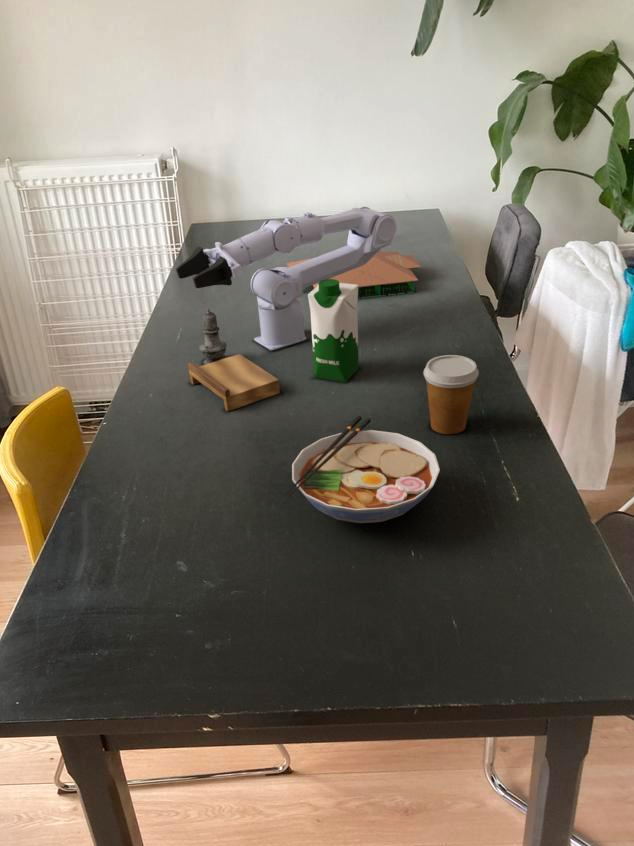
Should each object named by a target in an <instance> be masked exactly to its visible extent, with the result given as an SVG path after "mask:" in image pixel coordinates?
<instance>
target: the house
mask: <svg viewBox="0 0 634 846" xmlns="http://www.w3.org/2000/svg"><path fill="white" fill-rule="evenodd" d="M313 258H314V257H313ZM313 258H307V259H301V260H297V261H290V262H287V263H286V267H292V266H294V265H297V264H299V263H302V262H305V261H307V260H310V259H313ZM418 268H422V265H421V264H420V262H419V261H418V260H417V259H416V257H415V256H414V255H413V254H400V253H399V251H387V250H385V251H383V250H382V251H381V250H379V251H378V252H377V253H376V254H375V255H374V256H373V257H372V258H371V259H370V260H369V261H368V262H367V263H366V264H364V265H363V266H360V267H358V268H355V269H352V270H350V271H347V272H345V273H342V274H340V275H337V276H335V277H332V278H330V279H335V280H338V281H339V283H347V284H357V285H358V288H364V287H365V288H366V287H368V288H369V289H368V290H367V289H365V292H368V291H369V292H368V293H369V295H367V293H365V296H362V299H365V298H375V297H376V295H372V296H371V295H370V294H371V293H370V291H371V288H370V287H373V288H374V291H376V293H377V295H378V296H380V297H383V296H385V293H384V291H385V290H390V287H386V288H385V285H394V284H399V285H398V295H401V294H404V291H403V290H404V287H405V288H408V286H409V289H410V290H411V291H408V294H412V293H415V282H419V279H418V277H417V276H416V275H415V274H414V272H413V270H418ZM401 283H402V286H400V285H401ZM403 283H406V285H404V284H403ZM318 285H319V283H317V284H314V285H312V288H313V290H314V289H315V288H316V287H317V286H318ZM382 285H383V287H382V291H383V294H382V295H381V286H382ZM400 288H402V289H401V290H402V292H400ZM394 289H397V286H395V287H394ZM311 291H312V290H309V291H308V290H307V293H310V292H311ZM358 293H361V290H358ZM391 295H395V293H389V296H391Z"/></svg>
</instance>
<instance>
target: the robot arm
mask: <svg viewBox="0 0 634 846" xmlns="http://www.w3.org/2000/svg"><path fill="white" fill-rule="evenodd" d="M347 231H348V235H347V240H346V243H347V245H345V246H341V247H339V248H336V249H334V250H331V251H329V252H326V253H324V254H321V255H318V256H316V257H313V259H311V258H309V259H310V260H307V261H305V262H302V263H299V264H297V265H294V266H292V267H288V266H275V267H274V268H267V267H261V268H259V269H257V270H256V271H255V272H254V273H253V275H252V277H251V279H250V289H251V292H252V293H253V294H254V295H255V296H256V300H257V309H258V318H259V319H258V320H259V328H260V329H259V330H260V336H256V337H254V338H253V340H254V341H255V342H256V343H258V344H260V345H261V346H262V347H264V348H266V349H268V350H269V351H272V352H273V351H277V350H279V349H283V348H286V347H289V346H292V345H295V344H298V343H300V342H304V341H307V337H306V335H305V321H304V310H303V306H302V304H301V302H300V301H299V300H298V298H300V297H302V294H303V290H305V289H308V288H310V287H313V285H314V284H317V283H319V282H320V281H322V280H325V279H330V278H332V277H335V276H337V275H340V274H342V273H345V272H347V271H350V270H352V269H355V268H358V267H360V266H363V265H364V264H366V263H367V262H368V261H369V260H370V259H371V258H372V257H373V256H374V255H375V254H376V253H377V252H378V251H381V249H383V248H386V247H388V246H390V245H391V244H392V241H393V239H394V237H395V235H396V232H397V221H396V219H395V216H393V215H392V214H389V213H384V212H380V211H378V210H374V209H371V208H370V207H367V206H360V207H353V208H351V209H349V210H345V211H342V212H339V213H335V214H332V215H328V216H325V217H319V216H318V215H316V214H313V213H311V212H309V211H308V212H304V213H303V216H299V217H294V218H292V217H290V216H288V217H285V218H284V220H283V221H280V220H277V219H272V220H270V219H267V220H265V221H264V222H263V224H261V226H260V227H259V229H257V230H255V231H252V232H250V233H248V234H245V235H243V236H241V237H239V238H236V239H234V240H232V241H231V242H228V243H226V244H224V245H223V244H222V243H221V242H219V241H216V242H215V243H214V245H215V247H213V248H210V249H209V248H205V249H203V247H202V246H197V247H195V249H194V251H193V252H192V254H190V256H189V257H188V258H187V259H186V260H184V261H183V262H182V263H181V264H179V266H177V267H176V268H175V272H176V274H177V278H178V279H186V278H189V277H192V276H193V277H192V281H193V285H194V288H195V289H202V288H207V287H213V286H231V285H233V282H232V277H233V278H234V279H236V278H238V277H241V276H243V275H244V273H243V269H245V268H247V267H249V266H251V265H253V264H255V263H257V262H260V261H262V260H264V259H267V258H268V257H270V256H273V255H275V254H277V252H279V253H282V254H290V253H293V251H294V250H295V249H296V247H302V246H306V245H309V244H314V243H318V242H320V241H321V240H322V239H323V236H325V235H328V234H330V235H331V234H334V233H335V234H336V233H340V232H347ZM210 264H211V265H210Z"/></svg>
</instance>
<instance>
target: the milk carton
mask: <svg viewBox="0 0 634 846" xmlns="http://www.w3.org/2000/svg"><path fill="white" fill-rule="evenodd" d="M310 291H311V292H308V294H307V299H308V304H309V312H310V326H311V342H312V344H311V345H312V359H313V373H314V374H313V375H314V378H315V379H320V380H327V381H333V382H339V383H347V382H348V381H349V379H351V377H352V376H353V375H354V374H355V372H356V371H358V369H359V367H360V366H359V325H358V324H359V321H358V320H359V318H358V317H359V316H358V302H359V301H358V300H359V292H358V291H359V287H358V285H357V284H347V283H339V281H338V280H335V279H325V280H322V281H320V282H319V285H318V286H317V287H316V288H315V289H314V288H313V289H311V290H310Z"/></svg>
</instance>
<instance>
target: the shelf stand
mask: <svg viewBox="0 0 634 846" xmlns="http://www.w3.org/2000/svg"><path fill="white" fill-rule="evenodd" d="M187 367H188V374H189V380H190V384H192V385H193V386H195V385H198V384H202V385H203V386H204V387H205V388H207V389H208V390H210V392H213V393H214V394H215V395H216V396H218V397H219V398H220V399H221V400H223V406H224V410H225V411H226V412H230V411H233V410H235V409H238V408H241V407H244V406H247V405H249V404H253V403H256V402H258V401H261V400H265V399H267V398H270V397H273V396H275V395H279V394H281V392H280V391H281V390H280V380H279V379H278V378H277V377H276V376H274V375H273V374H271V373H269V372H268V371H267V370H264V369H263V368H262V367H260V366H259V365H257V364H255V363H254V362H252V361H251V360H249V359H248V358H247V357H245V356H243V355H242V354H240V353H237V354H235V355H231V356H228V357H226V358H225V359H222V360H219V361H215V362H212V363H209V364H206V365H204V364H203V365H199V366H198V365H197V364H196V363H194V362H193V361H191V362H188V363H187Z"/></svg>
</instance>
